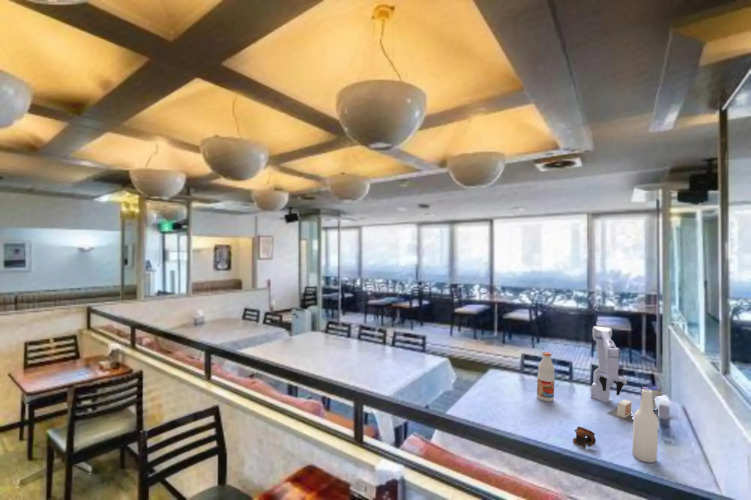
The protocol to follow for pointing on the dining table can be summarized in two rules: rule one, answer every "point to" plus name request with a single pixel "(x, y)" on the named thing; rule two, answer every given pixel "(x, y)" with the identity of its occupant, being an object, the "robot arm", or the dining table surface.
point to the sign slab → (624, 408)
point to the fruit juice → (545, 378)
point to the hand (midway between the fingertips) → (611, 392)
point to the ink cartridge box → (655, 391)
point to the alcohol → (645, 430)
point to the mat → (614, 413)
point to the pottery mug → (581, 438)
